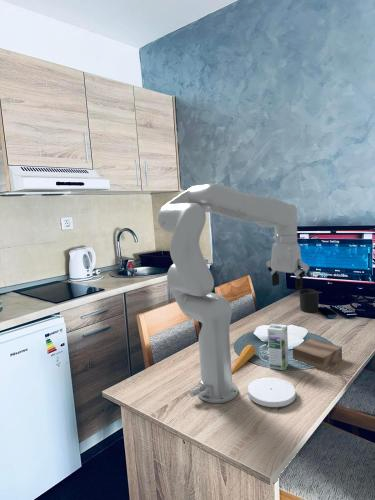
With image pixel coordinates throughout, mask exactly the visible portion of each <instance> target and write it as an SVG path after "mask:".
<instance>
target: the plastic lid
mask: <svg viewBox="0 0 375 500" xmlns="http://www.w3.org/2000/svg"><path fill="white" fill-rule="evenodd" d="M296 393H297V391H296V388H295V385H293V384H292V383H290V382H289V381H287V380H286V379H282V378H278V377H270V376H269V377H261V378H256V379H254V380H253V381H250V383H249V384H248V386H247V396H248V398H249V399H250V400H251V402H253V403H256V404H257V405H260V406H263V407H265V408H266V407H268V408H281V407H285V406H288V405H290V404H292V403H293V402H294V401H295V400H296V398H297V397H296V396H297V395H296Z"/></svg>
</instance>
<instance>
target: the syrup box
mask: <svg viewBox="0 0 375 500" xmlns="http://www.w3.org/2000/svg"><path fill="white" fill-rule="evenodd" d="M267 345H268V368H269V369H273V370H274V369H275V370H281V371H286V370H285V369H287V368H286V367H288V365H289V339H288V325H287V324H286V325H284V324H275V323H271V324H270V325H269V327H268V328H267Z"/></svg>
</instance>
